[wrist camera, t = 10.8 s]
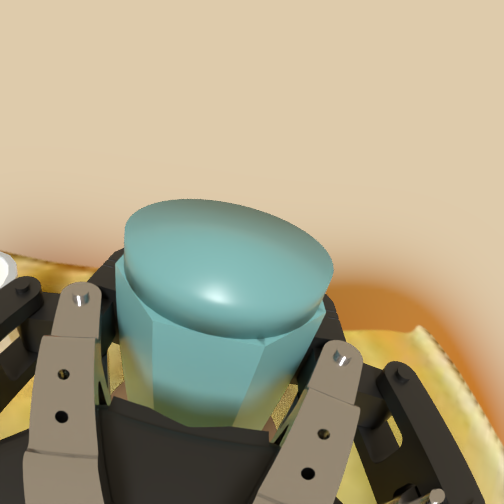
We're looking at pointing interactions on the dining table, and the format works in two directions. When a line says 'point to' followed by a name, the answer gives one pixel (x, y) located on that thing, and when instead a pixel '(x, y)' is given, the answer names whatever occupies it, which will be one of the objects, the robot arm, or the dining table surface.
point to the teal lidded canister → (216, 310)
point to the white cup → (3, 271)
